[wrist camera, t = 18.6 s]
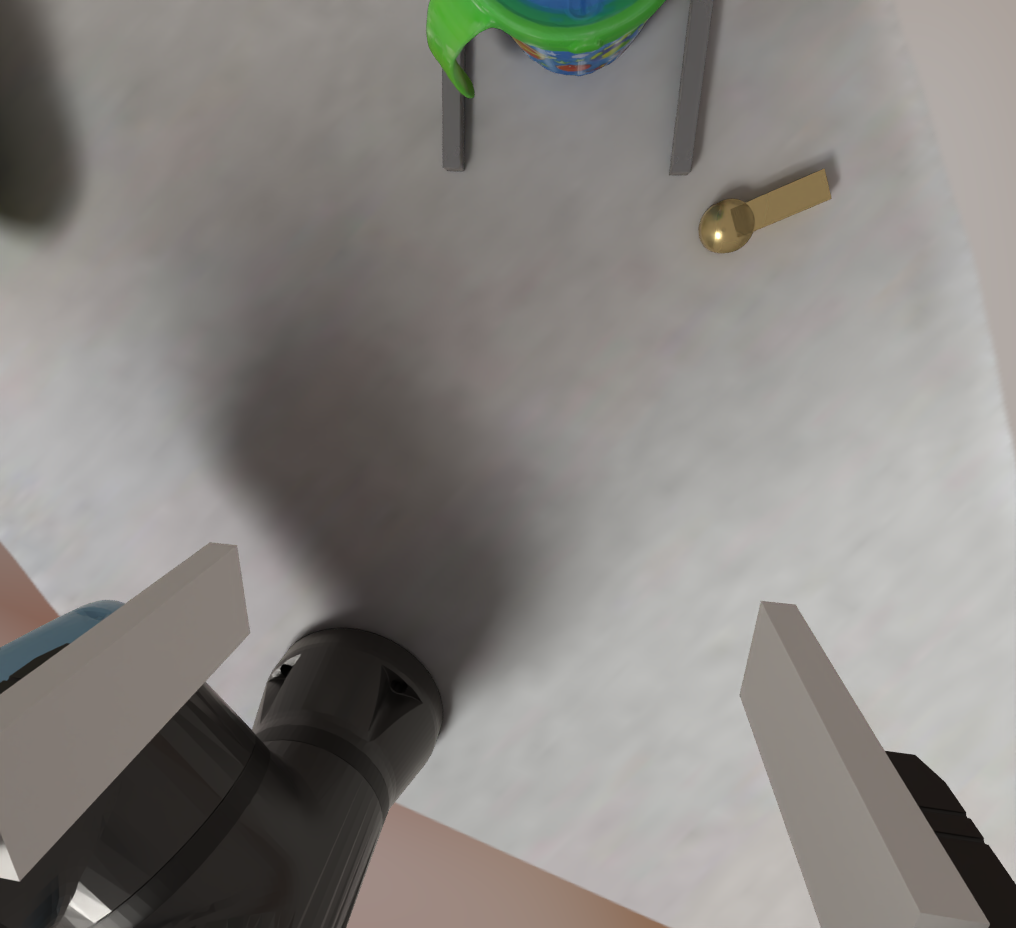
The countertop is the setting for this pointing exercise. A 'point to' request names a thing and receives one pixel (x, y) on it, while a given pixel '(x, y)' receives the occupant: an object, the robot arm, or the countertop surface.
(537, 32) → the snack cup
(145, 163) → the countertop surface
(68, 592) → the countertop surface
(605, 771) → the countertop surface
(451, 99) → the bracket
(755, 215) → the brass key
